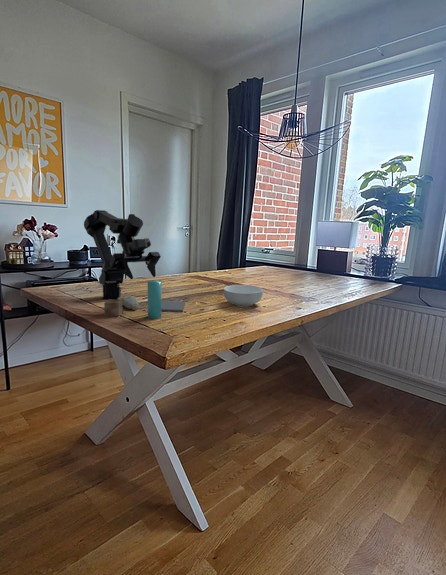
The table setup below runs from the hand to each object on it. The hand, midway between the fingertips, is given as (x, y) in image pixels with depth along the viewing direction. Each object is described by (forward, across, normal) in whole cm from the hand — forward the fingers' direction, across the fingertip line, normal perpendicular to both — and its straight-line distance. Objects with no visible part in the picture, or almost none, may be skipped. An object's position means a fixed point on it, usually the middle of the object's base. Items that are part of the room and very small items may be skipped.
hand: (143, 277), depth 121 cm
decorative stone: (+2, 0, +17) cm, 18 cm away
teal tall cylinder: (+15, 0, +4) cm, 15 cm away
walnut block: (+7, -10, +12) cm, 17 cm away
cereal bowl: (+18, +40, +1) cm, 44 cm away
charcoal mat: (+8, +11, +10) cm, 17 cm away
